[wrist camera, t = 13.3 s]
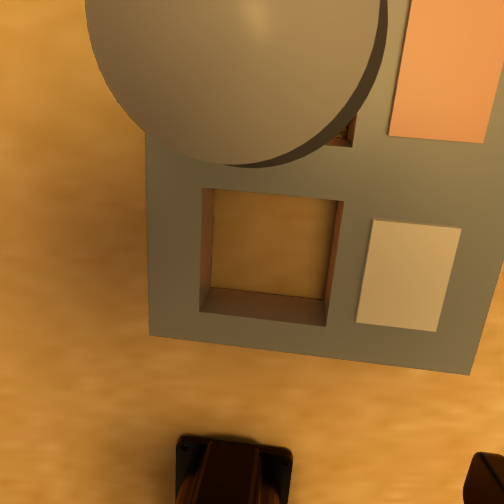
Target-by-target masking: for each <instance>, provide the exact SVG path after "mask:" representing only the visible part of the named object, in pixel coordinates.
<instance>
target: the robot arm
mask: <svg viewBox="0 0 504 504" xmlns="http://www.w3.org/2000/svg"><path fill="white" fill-rule="evenodd" d="M184 444H185V445H187V446H184ZM281 459H285V460H281ZM292 465H293V455H292V454H291V453H290V452H289V451H287V450H282V449H275V448H268V447H261V446H254V445H247V444H240V443H233V442H226V441H219V440H213V439H206V438H199V437H192V436H182V437H180V438H179V439H178V442H177V445H176V503H175V504H287V503H288V495H289V487H290V480H291V472H292ZM463 500H464V504H504V457H503V456H502V455H499V454H494V453H487V452H477V453H475V454H474V456H473V458H472V461H471V464H470V467H469V470H468V473H467V476H466V480H465V483H464V486H463Z"/></svg>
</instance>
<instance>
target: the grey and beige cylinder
mask: <svg viewBox="0 0 504 504" xmlns="http://www.w3.org/2000/svg"><path fill="white" fill-rule="evenodd" d="M85 10H86V18H87V27H88V32H89V36H90V41H91V45H92V49H93V52H94V55H95V58H96V61H97V64H98V67H99V69H100V71H101V73H102V75H103V77H104V79H105V81H106V84H107V86H108V87H109V89H110V90H111V92H112V94H113V95H114V97H115V98H116V100H117V102H118V103H119V104H120V105H121V107H122V108H123V109H124V111H125V112H126V113H127V114H128V116H129V117H130V118H131V119H132V120H133V121H134V122H135V123H136V124H137V125H138V126H139V127H140V128H141V129H142V130H144V131H145V132H146V133H147V134H149V135H150V136H151V137H152V138H154V139H155V140H156V141H158V142H160V143H161V144H163V145H165V146H166V147H168V148H170V149H171V150H173V151H176V152H178V153H180V154H182V155H185V156H187V157H190V158H194V159H197V160H200V161H204V162H210V163H216V164H223V165H227V166H233V167H240V168H265V167H274V166H278V165H282V164H286V163H290V162H292V161H295V160H297V159H300V158H303V157H305V156H307V155H309V154H310V153H312V152H314V151H316V150H318V149H319V148H321V147H322V146H324V145H325V144H326V143H328V142H329V141H330V140H332V139H333V138H334V137H335V136H336V135H337V134H338V133H340V132H341V131H342V130H343V129H344V128H345V127H346V126H347V124H348V123H349V122H350V121H351V120H352V119H353V117H354V116H355V115H356V114H357V112H358V111H359V109H360V108H361V106H362V105H363V103H364V102H365V100H366V99H367V97H368V95H369V93H370V91H371V89H372V87H373V85H374V83H375V80H376V77H377V75H378V72H379V69H380V66H381V63H382V59H383V55H384V50H385V46H386V38H387V29H388V2H387V0H85Z"/></svg>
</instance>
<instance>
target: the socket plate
mask: <svg viewBox="0 0 504 504" xmlns="http://www.w3.org/2000/svg"><path fill="white" fill-rule="evenodd" d="M387 2H388V29H387V38H386V46H385V50H384V55H383V59H382V63H381V66H380V69H379V72H378V75H377V77H376V80H375V83H374V85H373V87H372V89H371V91H370V93H369V95H368V97H367V99H366V100H365V102H364V103H363V105H362V106H361V108H360V109H359V111H358V112H357V114H356V115H355V116H354V117H353V119H352V120H351V121H350V122H349V128H348V135H347V139H336V138H333V139H332V140H330V141H329V142H328V143H326V144H325V145H324V146H322V147H321V148H319V149H318V150H316V151H314V152H312V153H310V154H309V155H307V156H305V157H303V158H300V159H297V160H295V161H292V162H290V163H286V164H282V165H278V166H274V167H265V168H240V167H233V166H227V165H223V164H216V163H210V162H204V161H200V160H197V159H194V158H190V157H187V156H185V155H182V154H180V153H178V152H176V151H173V150H171V149H170V148H168V147H166V146H165V145H163V144H161V143H160V142H158V141H156V140H155V139H154V138H152V137H151V136H150V135H149V134H147V133H146V132H145V140H146V194H147V248H148V302H149V335H151V336H159V337H167V338H175V339H183V340H191V341H199V342H207V343H215V344H223V345H231V346H239V347H247V348H255V349H263V350H271V351H279V352H287V353H295V354H303V355H311V356H319V357H326V358H334V359H342V360H350V361H358V362H366V363H374V364H382V365H390V366H398V367H406V368H414V369H422V370H430V371H438V372H446V373H454V374H462V375H470V372H471V369H472V365H473V362H474V358H475V355H476V352H477V348H478V345H479V341H480V338H481V335H482V331H483V328H484V324H485V321H486V318H487V314H488V311H489V307H490V304H491V301H492V297H493V294H494V290H495V287H496V284H497V280H498V277H499V273H500V270H501V267H502V263H503V260H504V0H387ZM214 189H222V190H233V191H243V192H254V193H264V194H275V195H286V196H296V197H307V198H317V199H328V200H338V206H337V213H336V220H335V227H334V234H333V241H332V248H331V255H330V262H329V269H328V276H327V283H326V290H325V297H324V300H317V299H308V298H300V297H291V296H282V295H274V294H265V293H256V292H247V291H239V290H230V289H221V288H212V287H211V263H212V236H213V210H214Z"/></svg>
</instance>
